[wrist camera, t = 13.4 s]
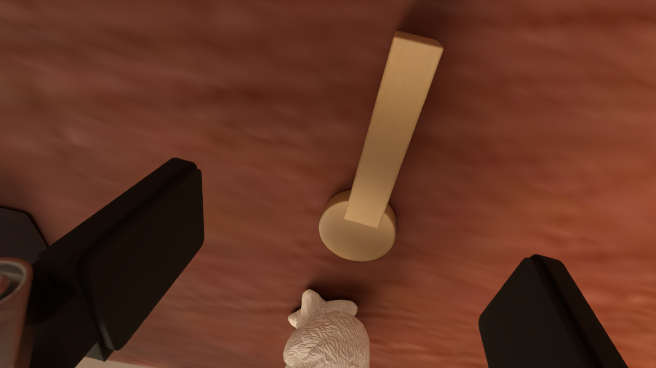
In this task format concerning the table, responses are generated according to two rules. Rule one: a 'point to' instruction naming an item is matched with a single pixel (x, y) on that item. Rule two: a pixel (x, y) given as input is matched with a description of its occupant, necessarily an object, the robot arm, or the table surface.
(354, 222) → the wooden spoon
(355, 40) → the table surface
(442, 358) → the table surface
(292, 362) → the white squirrel figurine
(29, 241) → the calculator
